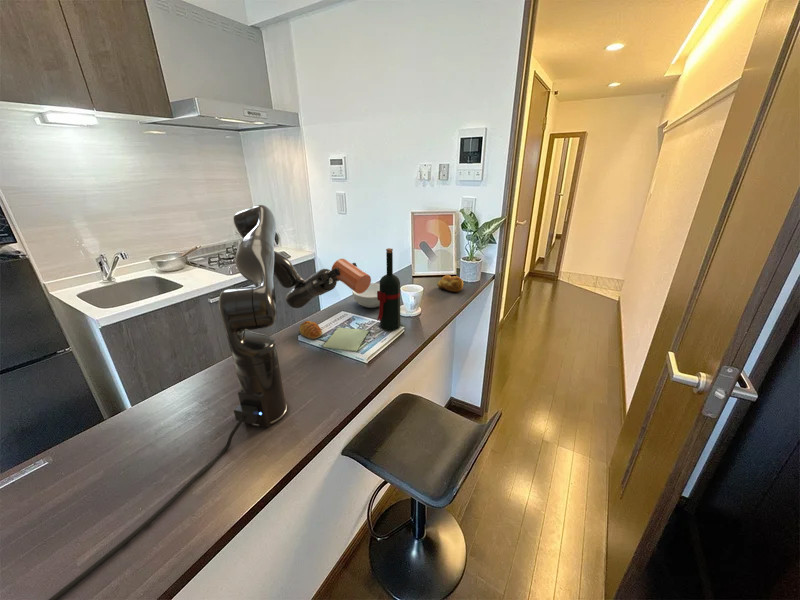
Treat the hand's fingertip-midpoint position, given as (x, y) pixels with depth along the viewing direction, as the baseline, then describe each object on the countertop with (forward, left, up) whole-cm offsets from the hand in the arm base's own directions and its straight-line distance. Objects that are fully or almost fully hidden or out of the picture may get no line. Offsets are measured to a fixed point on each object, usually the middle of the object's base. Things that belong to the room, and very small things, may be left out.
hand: (347, 268), depth 99 cm
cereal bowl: (+36, +4, -28) cm, 46 cm away
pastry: (+6, +18, -28) cm, 34 cm away
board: (+5, +4, -28) cm, 29 cm away
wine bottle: (+17, -8, -28) cm, 34 cm away
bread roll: (+62, -28, -28) cm, 74 cm away
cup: (-3, -6, -3) cm, 8 cm away
